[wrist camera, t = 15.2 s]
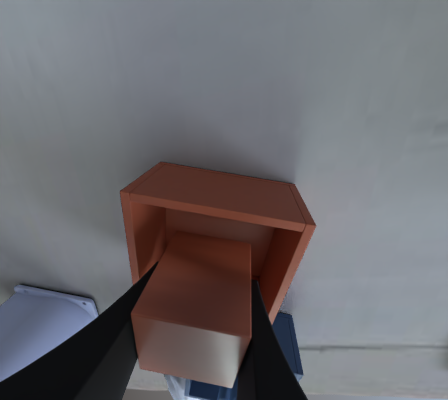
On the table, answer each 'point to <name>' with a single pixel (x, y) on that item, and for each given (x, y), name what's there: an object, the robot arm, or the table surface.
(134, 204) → the terracotta bin
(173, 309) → the block
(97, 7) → the table surface
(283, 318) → the slate bin
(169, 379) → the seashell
